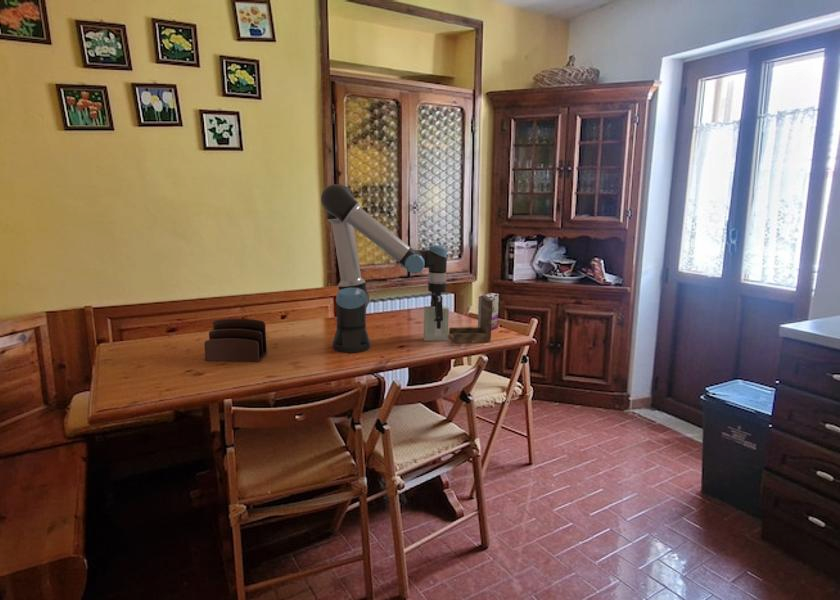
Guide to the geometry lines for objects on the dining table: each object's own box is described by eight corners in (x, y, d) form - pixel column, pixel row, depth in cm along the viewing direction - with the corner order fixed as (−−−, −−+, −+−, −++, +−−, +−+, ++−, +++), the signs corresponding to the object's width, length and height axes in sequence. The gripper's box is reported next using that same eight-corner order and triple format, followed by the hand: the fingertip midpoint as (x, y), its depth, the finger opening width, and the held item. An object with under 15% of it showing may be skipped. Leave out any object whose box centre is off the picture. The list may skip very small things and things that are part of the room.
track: (453, 342, 215) (455, 300, 211) (449, 335, 226) (450, 295, 222) (490, 341, 217) (492, 300, 213) (484, 334, 228) (486, 295, 224)
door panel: (424, 340, 217) (425, 308, 214) (423, 337, 221) (424, 306, 218) (447, 340, 218) (448, 308, 215) (446, 337, 222) (447, 306, 219)
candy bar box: (488, 326, 243) (490, 292, 240) (497, 327, 240) (499, 293, 237) (476, 330, 235) (478, 295, 231) (486, 332, 232) (487, 297, 228)
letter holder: (215, 353, 195) (213, 317, 192) (267, 354, 195) (265, 318, 192) (204, 361, 185) (202, 324, 182) (259, 362, 185) (257, 325, 182)
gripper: (451, 287, 203) (449, 339, 208) (441, 277, 226) (439, 324, 231) (432, 287, 202) (431, 339, 207) (424, 277, 225) (423, 324, 230)
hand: (435, 331), depth 219 cm, fingers open, 12 cm apart
